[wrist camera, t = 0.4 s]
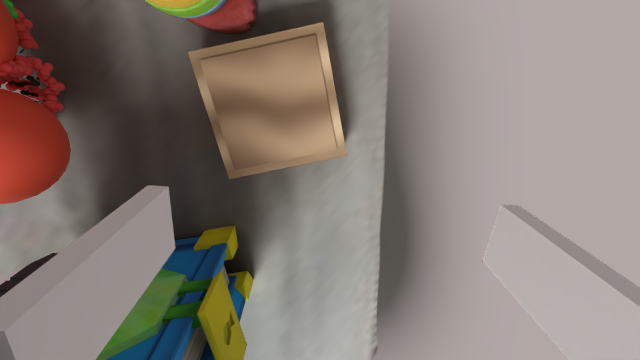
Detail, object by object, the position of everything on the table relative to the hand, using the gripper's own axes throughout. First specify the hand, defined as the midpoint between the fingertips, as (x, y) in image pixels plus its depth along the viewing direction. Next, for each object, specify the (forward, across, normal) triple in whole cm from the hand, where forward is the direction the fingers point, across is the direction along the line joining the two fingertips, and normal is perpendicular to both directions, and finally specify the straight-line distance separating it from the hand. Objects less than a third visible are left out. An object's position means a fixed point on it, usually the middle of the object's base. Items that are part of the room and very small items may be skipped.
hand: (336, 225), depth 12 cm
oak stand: (+27, -5, +1) cm, 27 cm away
